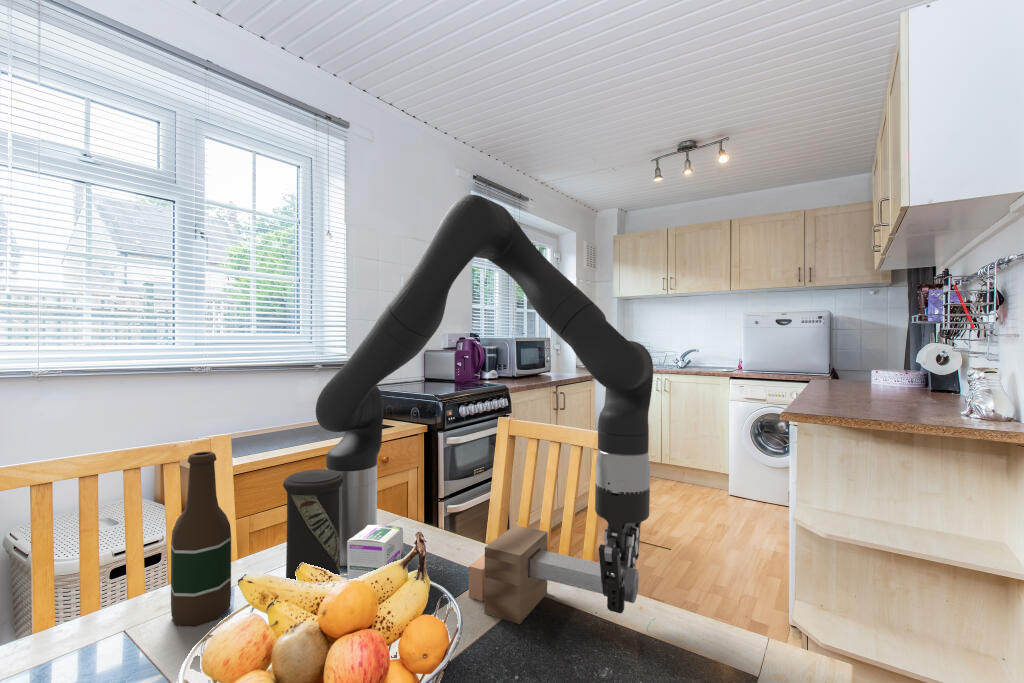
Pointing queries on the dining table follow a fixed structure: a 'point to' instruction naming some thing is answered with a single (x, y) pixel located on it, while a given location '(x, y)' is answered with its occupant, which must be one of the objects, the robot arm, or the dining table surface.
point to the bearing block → (513, 574)
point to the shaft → (577, 573)
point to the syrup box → (373, 549)
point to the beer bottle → (200, 550)
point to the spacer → (477, 579)
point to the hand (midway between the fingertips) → (620, 601)
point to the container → (313, 520)
